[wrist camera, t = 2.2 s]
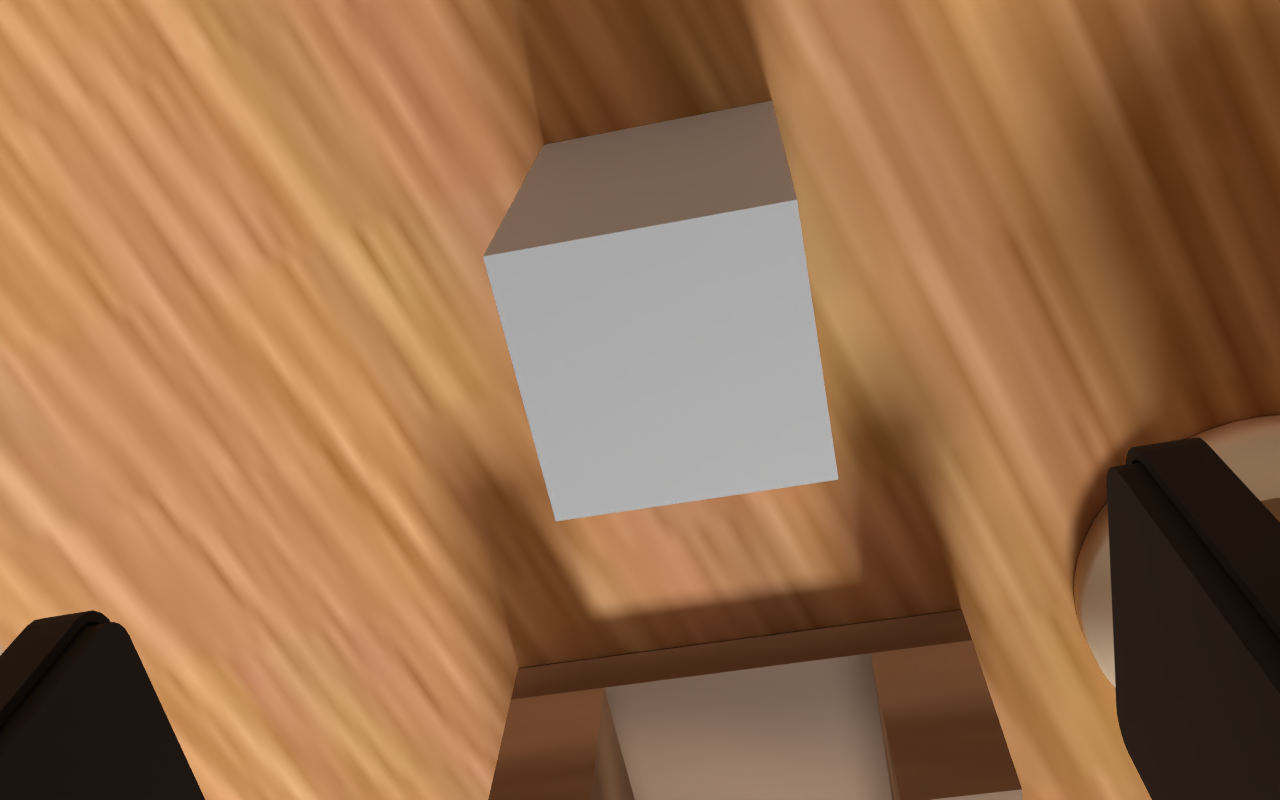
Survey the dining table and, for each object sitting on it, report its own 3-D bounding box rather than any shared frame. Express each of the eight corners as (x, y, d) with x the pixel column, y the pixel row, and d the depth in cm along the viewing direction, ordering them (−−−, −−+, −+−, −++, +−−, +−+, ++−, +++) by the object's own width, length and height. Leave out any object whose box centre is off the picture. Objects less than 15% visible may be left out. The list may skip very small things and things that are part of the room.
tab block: (544, 144, 20) (482, 256, 15) (772, 100, 19) (796, 199, 14) (593, 351, 22) (555, 521, 16) (805, 316, 21) (838, 479, 16)
